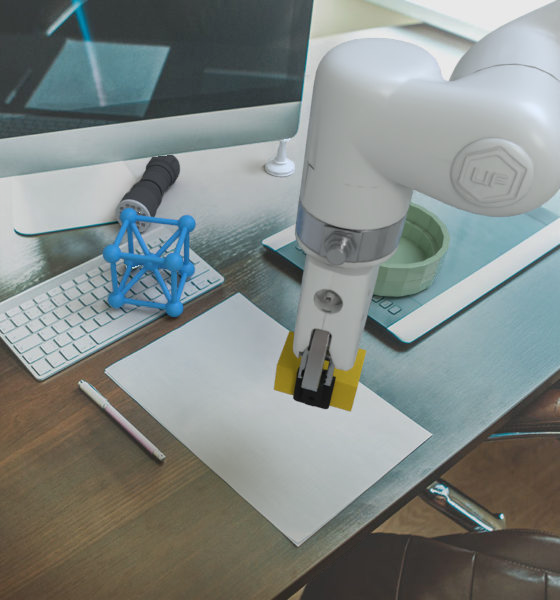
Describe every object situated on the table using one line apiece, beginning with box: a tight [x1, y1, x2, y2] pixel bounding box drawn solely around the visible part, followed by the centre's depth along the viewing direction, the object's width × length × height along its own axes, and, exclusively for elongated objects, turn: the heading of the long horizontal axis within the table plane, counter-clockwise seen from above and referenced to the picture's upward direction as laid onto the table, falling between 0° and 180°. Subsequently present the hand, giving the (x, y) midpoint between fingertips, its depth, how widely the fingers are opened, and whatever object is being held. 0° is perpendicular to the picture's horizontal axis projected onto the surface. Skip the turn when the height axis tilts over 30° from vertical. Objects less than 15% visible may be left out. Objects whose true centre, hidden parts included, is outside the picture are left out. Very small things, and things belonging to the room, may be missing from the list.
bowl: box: [373, 201, 451, 297], centre depth 88 cm, size 16×16×6 cm
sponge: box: [273, 330, 367, 412], centre depth 59 cm, size 7×4×4 cm, turn 68°
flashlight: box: [114, 154, 181, 233], centre depth 100 cm, size 15×5×5 cm, turn 160°
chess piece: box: [264, 137, 296, 178], centre depth 104 cm, size 5×5×10 cm
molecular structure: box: [101, 208, 197, 318], centre depth 83 cm, size 10×10×10 cm
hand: (317, 380), depth 60 cm, fingers closed on sponge, 4 cm apart
